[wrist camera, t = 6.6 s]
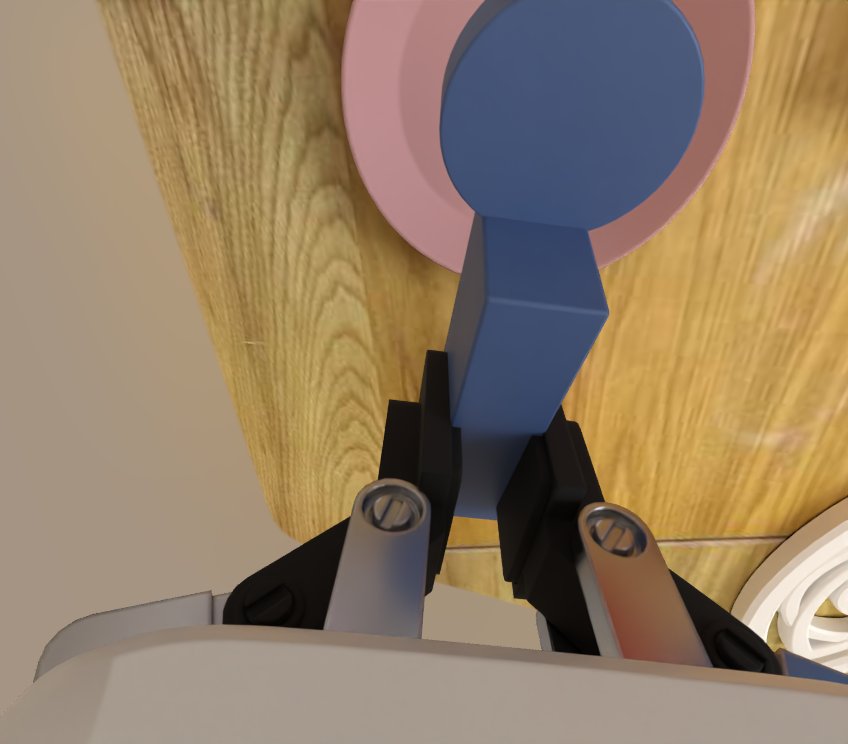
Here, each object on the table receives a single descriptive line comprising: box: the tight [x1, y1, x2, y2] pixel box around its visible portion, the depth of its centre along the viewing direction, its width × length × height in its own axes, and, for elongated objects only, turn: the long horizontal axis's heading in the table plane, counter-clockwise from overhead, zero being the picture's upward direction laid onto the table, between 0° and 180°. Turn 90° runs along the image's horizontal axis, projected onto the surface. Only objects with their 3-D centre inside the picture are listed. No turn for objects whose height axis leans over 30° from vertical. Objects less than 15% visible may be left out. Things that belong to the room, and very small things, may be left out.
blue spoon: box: [439, 0, 705, 520], centre depth 10 cm, size 10×4×3 cm, turn 172°
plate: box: [341, 0, 755, 275], centre depth 19 cm, size 14×14×2 cm
